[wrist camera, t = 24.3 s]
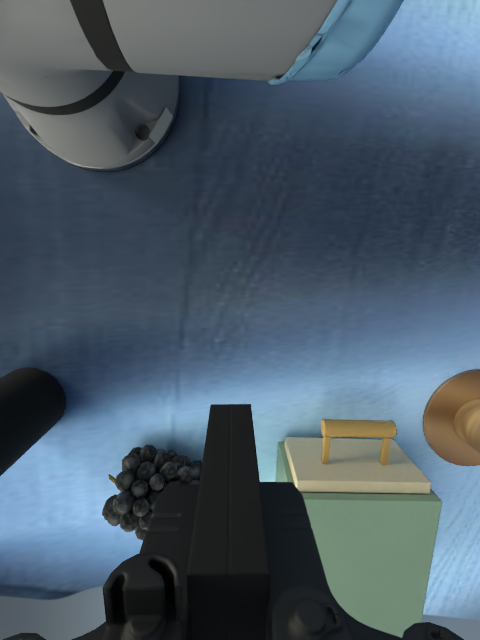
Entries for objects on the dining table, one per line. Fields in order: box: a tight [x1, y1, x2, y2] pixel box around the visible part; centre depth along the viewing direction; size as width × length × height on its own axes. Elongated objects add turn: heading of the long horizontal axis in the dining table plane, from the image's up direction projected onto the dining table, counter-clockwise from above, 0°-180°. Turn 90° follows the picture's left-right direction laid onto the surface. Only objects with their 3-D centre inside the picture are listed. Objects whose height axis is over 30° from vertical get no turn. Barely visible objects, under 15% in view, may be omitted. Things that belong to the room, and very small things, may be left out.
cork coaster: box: [423, 370, 480, 466], centre depth 38 cm, size 12×12×1 cm
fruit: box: [102, 445, 202, 540], centre depth 35 cm, size 9×8×15 cm
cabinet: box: [275, 442, 442, 638], centre depth 36 cm, size 17×14×9 cm
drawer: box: [284, 419, 431, 494], centre depth 35 cm, size 20×13×7 cm, turn 178°
